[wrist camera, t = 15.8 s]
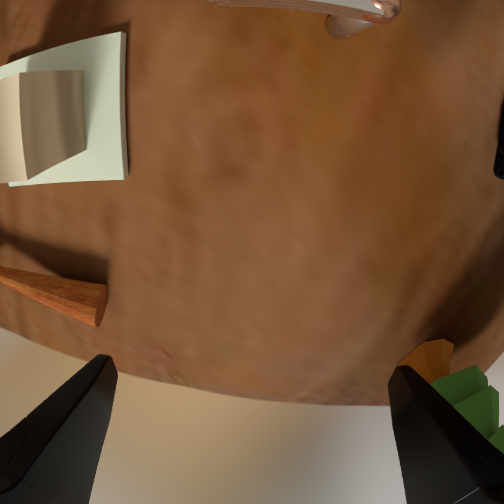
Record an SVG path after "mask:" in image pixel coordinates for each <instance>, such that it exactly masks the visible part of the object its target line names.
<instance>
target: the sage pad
mask: <svg viewBox="0 0 504 504" xmlns="http://www.w3.org/2000/svg"><path fill="white" fill-rule="evenodd" d="M125 53H126V33H124V32H116V33H111V34H106V35H101V36H96V37H92V38H88V39H84V40H80V41H76V42H72V43H68V44H65V45H61V46H58V47H54V48H51V49H48V50H45V51H42V52H39V53H36V54H33V55H30V56H27V57H24V58H22V59H19V60H16V61H14V62H11V63H9V64H6V65H4V66H1V67H0V80H1V79H3V78H6V77H8V76H11V75H14V74H17V73H21V72H35V71H59V70H84V119H85V136H86V149H87V150H85V151H83V152H81V153H79V154H77V155H75V156H73V157H71V158H69V159H67V160H65V161H63V162H61V163H59V164H57V165H55V166H53V167H51V168H49V169H47V170H45V171H44V172H42V173H40V174H38V175H36V176H34V177H33V178H31V179H29V180H26V181H16V182H8V183H9V186H20V185H31V184H44V183H58V182H74V181H95V180H124V179H125V178H127V177H128V176H129V173H128V160H127V144H126V120H125Z"/></svg>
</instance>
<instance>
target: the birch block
mask: <svg viewBox="0 0 504 504" xmlns="http://www.w3.org/2000/svg"><path fill="white" fill-rule="evenodd" d="M85 150H87V149H86V136H85V119H84V70H59V71H35V72H21V73H17V74H14V75H11V76H8V77H6V78H3V79H1V80H0V183H7V182H16V181H26V180H29V179H31V178H33V177H34V176H36V175H38V174H40V173H42V172H44V171H45V170H47V169H49V168H51V167H53V166H55V165H57V164H59V163H61V162H63V161H65V160H67V159H69V158H71V157H73V156H75V155H77V154H79V153H81V152H83V151H85Z"/></svg>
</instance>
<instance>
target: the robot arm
mask: <svg viewBox="0 0 504 504" xmlns="http://www.w3.org/2000/svg"><path fill="white" fill-rule="evenodd" d="M500 170H501V171H500ZM499 172H500V173H499ZM494 174H495V176H496V177H498V178H500V179H503V180H504V113H503V121H502V129H501V135H500V141H499V147H498V153H497V158H496V163H495V168H494ZM117 379H118V374H117V370H116V367H115V364H114V362H113V359H112V357H111V356H109V355H104V354H99V355H97V356H96V357H94V358H93V359H92V360H91V361H90V362H89V363H87V364H86V365H85V366H84V367H83V368H82V369H80V370H79V371H78V372H77V373H76V374H75V375H73V376H72V377H71V378H70V379H69V380H67V381H66V382H65V383H64V384H63V385H62V386H61V387H59V388H58V389H57V390H56V391H55V392H54V393H53V394H51V395H50V396H49V397H48V398H47V399H46V400H44V401H43V402H42V403H41V404H40V405H39V406H38V407H36V408H35V409H34V410H33V411H32V412H31V413H30V414H29V415H27V418H26V417H25V418H24V419H23V420H21V422H19V423H18V424H17V425H16V426H14V427H13V428H12V429H11V430H10V431H9V432H7V433H6V434H4V435H3V436H2V437H1V438H0V504H89V500H90V495H91V491H92V486H93V482H94V478H95V474H96V469H97V465H98V462H99V458H100V454H101V450H102V446H103V443H104V439H105V436H106V432H107V429H108V425H109V421H110V417H111V412H112V406H113V401H114V394H115V389H116V384H117ZM388 392H389V400H390V408H391V417H392V426H393V431H394V436H395V440H396V446H397V451H398V456H399V460H400V466H401V471H402V477H403V483H404V488H405V495H406V501H407V504H504V453H502V452H501V451H500V450H499V449H498V448H496V447H495V446H494V445H493V444H492V443H491V442H489V441H488V440H487V439H486V438H485V437H484V436H483V435H482V434H481V433H480V432H479V431H478V430H476V428H475V427H474V426H473V425H472V424H471V423H470V422H469V421H468V420H467V419H466V418H464V417H463V416H462V415H461V414H460V413H459V412H458V411H457V410H456V409H455V408H454V407H453V406H452V405H451V404H450V403H449V402H448V401H447V400H446V399H445V398H444V397H443V396H442V395H441V394H440V393H438V392H437V391H436V390H435V389H434V388H433V387H432V386H431V385H430V384H429V383H428V382H427V381H426V380H425V379H424V378H423V377H422V376H420V375H419V374H418V373H417V372H416V371H415V370H414V369H413V368H412V367H411V366H409V365H399V366H397V367H396V368H395V370H394V372H393V374H392V376H391V378H390V379H389V382H388Z"/></svg>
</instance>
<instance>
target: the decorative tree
mask: <svg viewBox="0 0 504 504" xmlns="http://www.w3.org/2000/svg"><path fill="white" fill-rule="evenodd" d="M453 347H454V344H453V343H451V342H449V341H447V340H445V339H438V340H432V341H427V342H423V343H422V344H420V345H419V346H418V347H417V348H416V349H415V350H413V351H412V352H411V353H410V354H409V355H408V356H406V357H405V358H404V359H403V360H401V361H400V362H399V363H398V365H409V366H411V367H412V368H413V369H414V370H415V371H416V372H417V373H418V374H419V375H420V376H422V377H423V378H424V379H425V380H426V381H427V382H428V383H429V384H430V385H431V386H432V387H433V388H434V389H435V390H436V391H437V392H438V393H440V394H441V395H442V396H443V397H444V398H445V399H446V400H447V401H448V402H449V403H450V404H451V405H452V406H453V407H454V408H455V409H456V410H457V411H458V412H459V413H460V414H461V415H462V416H463V417H464V418H466V419H467V420H468V421H469V422H470V423H471V424H472V425H473V426H474V427H475V428H476V430H478V431H479V432H480V433H481V434H482V435H483V436H484V437H485V438H486V439H487V440H488V441H489V442H491V443H492V444H493V445H494V446H495V447H496V448H498V449H499V450H500V451H501V452H502V453H504V426H503V425H502V426H500V427H499V392H498V391H497V390H495V389H494V388H493V387H492V386H491V385H490V386H489V387H488V380H487V377H486V376H485V375H484V373H483V372H482V371H481V370H480V369H479V368H478V367H477V366H476V365H474V366H472V367H469V368H467V369H464V370H461V371H459V372H456V373H453V374H451V375H450V370H449V364H450V360H451V356H452V351H453Z"/></svg>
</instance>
